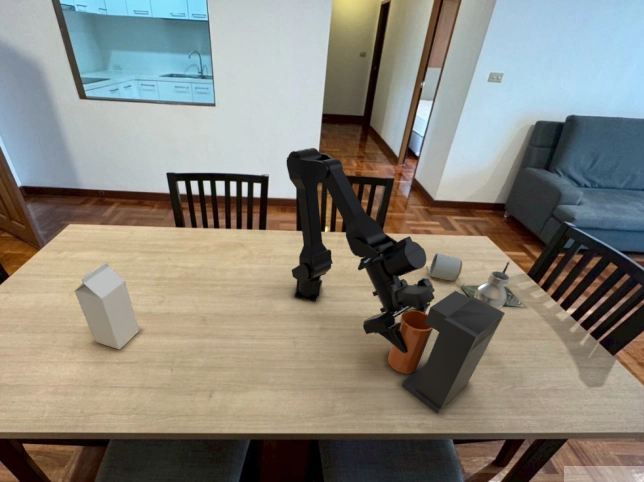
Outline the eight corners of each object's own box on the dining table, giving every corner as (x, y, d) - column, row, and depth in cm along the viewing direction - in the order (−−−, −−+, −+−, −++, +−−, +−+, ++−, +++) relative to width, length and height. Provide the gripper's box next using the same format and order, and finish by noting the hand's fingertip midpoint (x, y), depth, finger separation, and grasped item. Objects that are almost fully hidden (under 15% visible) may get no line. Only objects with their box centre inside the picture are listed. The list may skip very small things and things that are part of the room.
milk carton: (139, 331, 87) (120, 265, 76) (119, 350, 82) (95, 282, 70) (116, 323, 89) (93, 258, 77) (94, 342, 83) (67, 274, 72)
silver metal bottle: (470, 354, 86) (504, 287, 74) (449, 336, 91) (478, 271, 79) (488, 346, 89) (523, 280, 77) (466, 329, 93) (496, 265, 81)
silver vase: (505, 286, 111) (524, 249, 103) (524, 307, 103) (546, 268, 95) (459, 286, 110) (475, 249, 102) (475, 307, 102) (493, 267, 94)
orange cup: (386, 369, 81) (400, 326, 73) (389, 349, 86) (402, 307, 78) (417, 377, 79) (435, 334, 72) (418, 356, 85) (434, 314, 77)
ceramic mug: (456, 286, 110) (464, 264, 105) (429, 280, 111) (436, 259, 107) (453, 269, 118) (461, 249, 114) (428, 264, 120) (435, 244, 115)
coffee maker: (399, 384, 78) (425, 310, 65) (430, 359, 84) (459, 287, 71) (437, 413, 72) (474, 338, 59) (467, 385, 78) (506, 311, 66)
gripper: (385, 286, 66) (420, 362, 66) (439, 257, 76) (469, 323, 76) (348, 299, 76) (379, 365, 76) (400, 272, 86) (427, 330, 86)
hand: (415, 345), depth 78 cm, fingers closed on orange cup, 7 cm apart
